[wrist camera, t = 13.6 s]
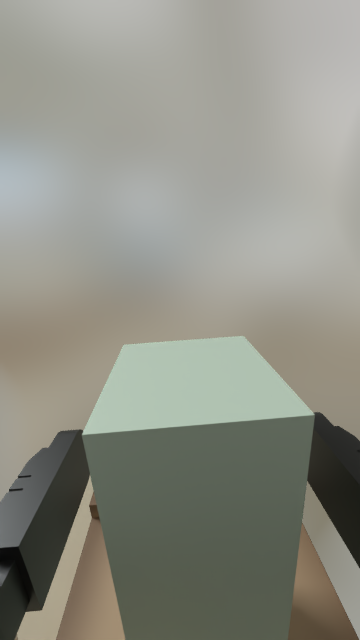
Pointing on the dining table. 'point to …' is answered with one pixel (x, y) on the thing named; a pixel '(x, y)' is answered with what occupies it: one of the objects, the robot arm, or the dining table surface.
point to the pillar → (200, 489)
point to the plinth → (105, 621)
